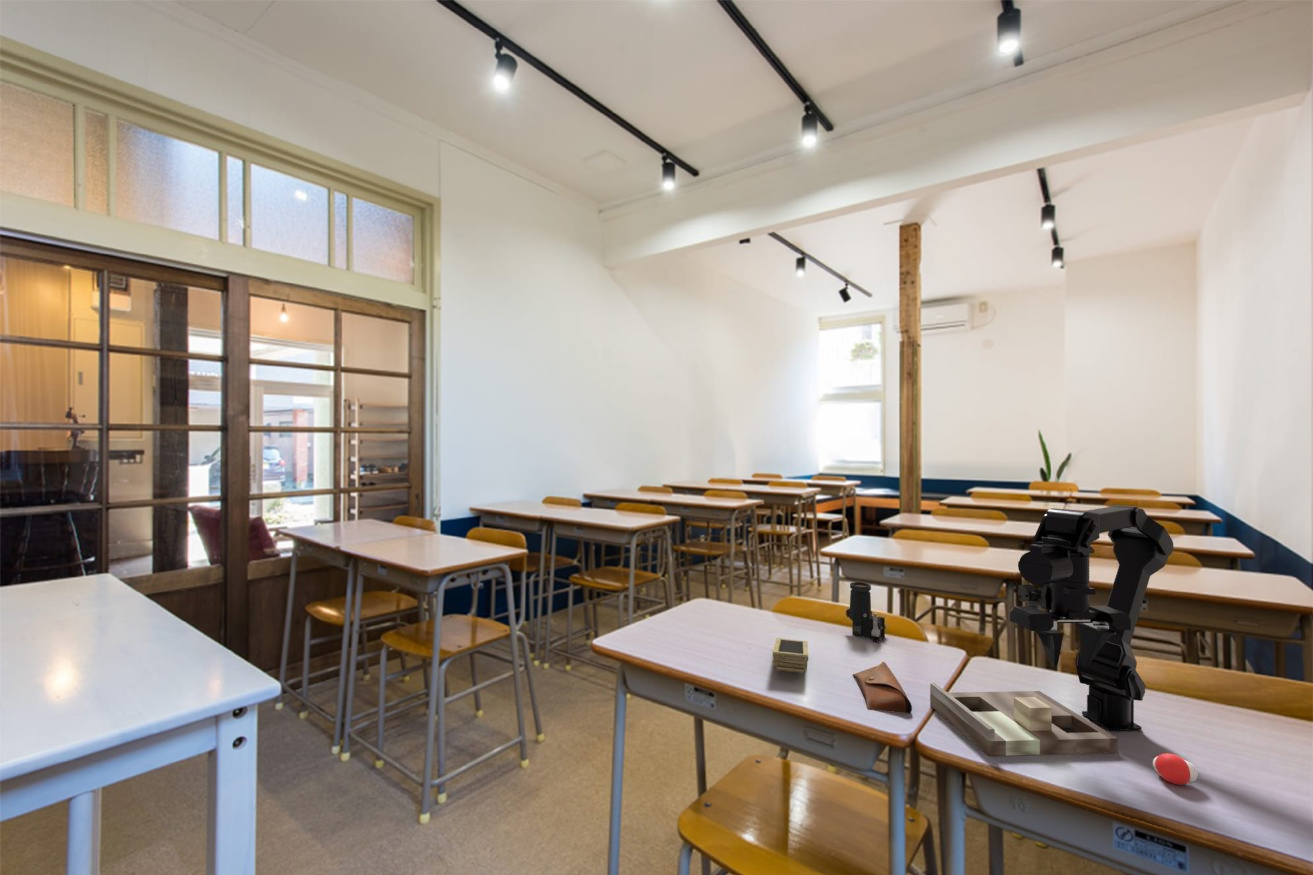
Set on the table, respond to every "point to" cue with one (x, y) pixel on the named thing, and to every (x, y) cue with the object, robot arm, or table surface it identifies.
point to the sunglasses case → (882, 690)
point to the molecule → (1175, 769)
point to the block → (1032, 713)
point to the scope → (864, 613)
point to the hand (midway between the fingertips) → (1069, 665)
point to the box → (790, 655)
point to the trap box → (1018, 724)
